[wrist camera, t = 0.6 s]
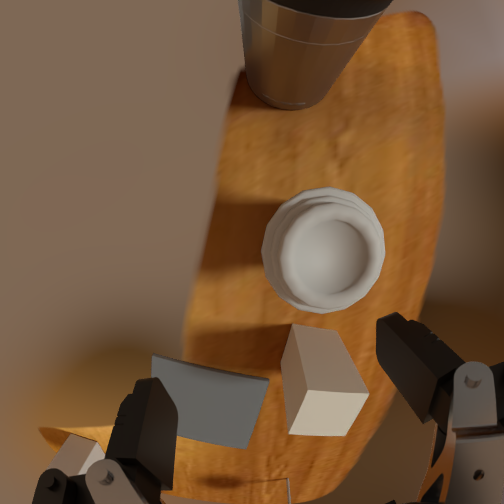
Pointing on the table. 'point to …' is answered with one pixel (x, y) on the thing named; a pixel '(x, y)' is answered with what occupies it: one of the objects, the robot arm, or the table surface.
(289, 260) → the coffee cup
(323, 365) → the block
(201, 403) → the mat
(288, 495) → the lollipop
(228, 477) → the table surface
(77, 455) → the milk carton
